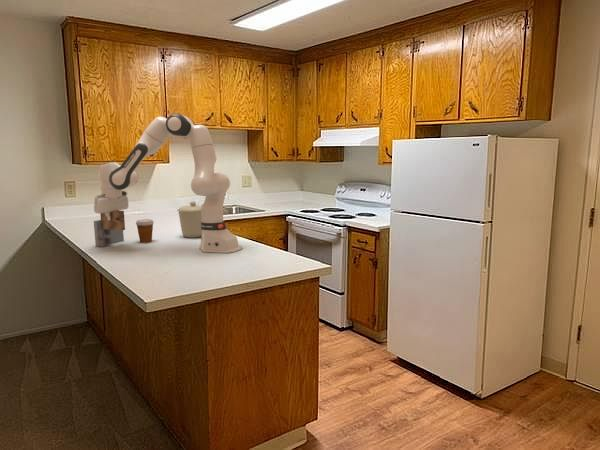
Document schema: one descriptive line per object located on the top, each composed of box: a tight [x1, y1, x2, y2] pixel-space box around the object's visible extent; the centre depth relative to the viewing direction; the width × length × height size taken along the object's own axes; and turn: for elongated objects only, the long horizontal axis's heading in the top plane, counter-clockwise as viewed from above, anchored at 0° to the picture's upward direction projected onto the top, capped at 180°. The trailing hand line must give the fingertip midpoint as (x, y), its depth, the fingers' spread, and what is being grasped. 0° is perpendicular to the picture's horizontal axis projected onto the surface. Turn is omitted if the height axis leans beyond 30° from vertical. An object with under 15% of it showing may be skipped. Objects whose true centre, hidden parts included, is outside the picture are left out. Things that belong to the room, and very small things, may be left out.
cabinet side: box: [93, 219, 125, 248], centre depth 246 cm, size 5×18×14 cm, turn 157°
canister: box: [177, 200, 202, 239], centre depth 266 cm, size 18×18×21 cm
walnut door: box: [99, 210, 126, 231], centre depth 235 cm, size 14×4×10 cm, turn 67°
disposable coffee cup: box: [135, 218, 154, 244], centre depth 252 cm, size 10×10×12 cm
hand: (112, 219), depth 236 cm, fingers closed on walnut door, 2 cm apart
